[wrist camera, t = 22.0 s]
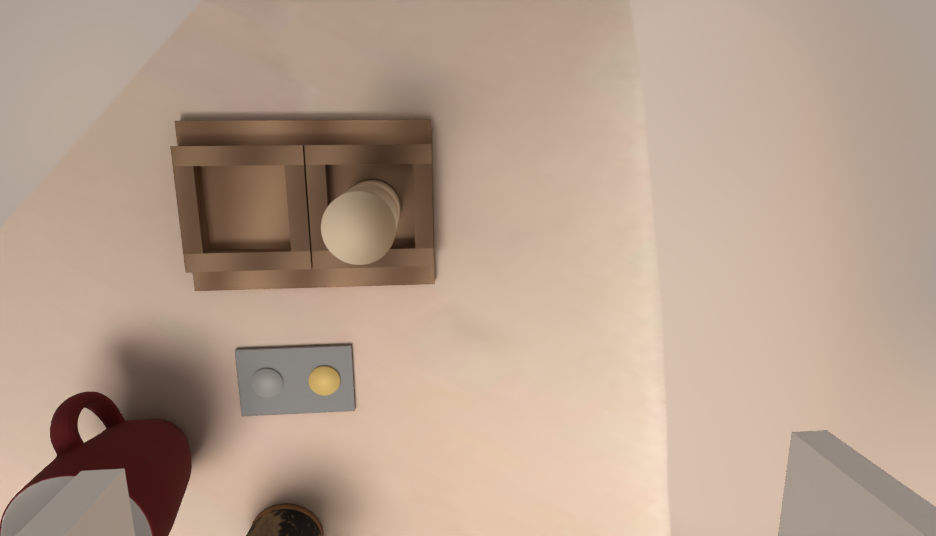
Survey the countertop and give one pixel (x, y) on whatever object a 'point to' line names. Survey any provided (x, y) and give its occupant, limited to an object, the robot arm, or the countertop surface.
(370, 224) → the peg
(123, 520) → the robot arm
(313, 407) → the key tile
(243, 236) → the board
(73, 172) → the countertop surface
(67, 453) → the mug
